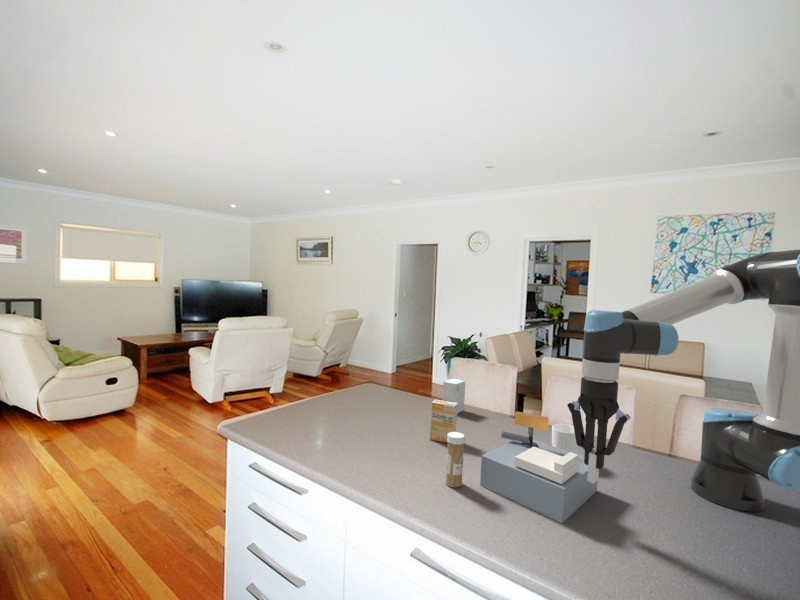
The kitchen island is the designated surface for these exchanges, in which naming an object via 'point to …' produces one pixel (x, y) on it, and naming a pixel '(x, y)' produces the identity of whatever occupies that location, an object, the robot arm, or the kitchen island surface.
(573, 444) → the white cup
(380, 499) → the kitchen island surface
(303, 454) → the kitchen island surface
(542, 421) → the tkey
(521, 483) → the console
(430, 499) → the kitchen island surface
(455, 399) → the small box
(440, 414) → the supplement box
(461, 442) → the sprinkles bottle
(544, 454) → the cover
